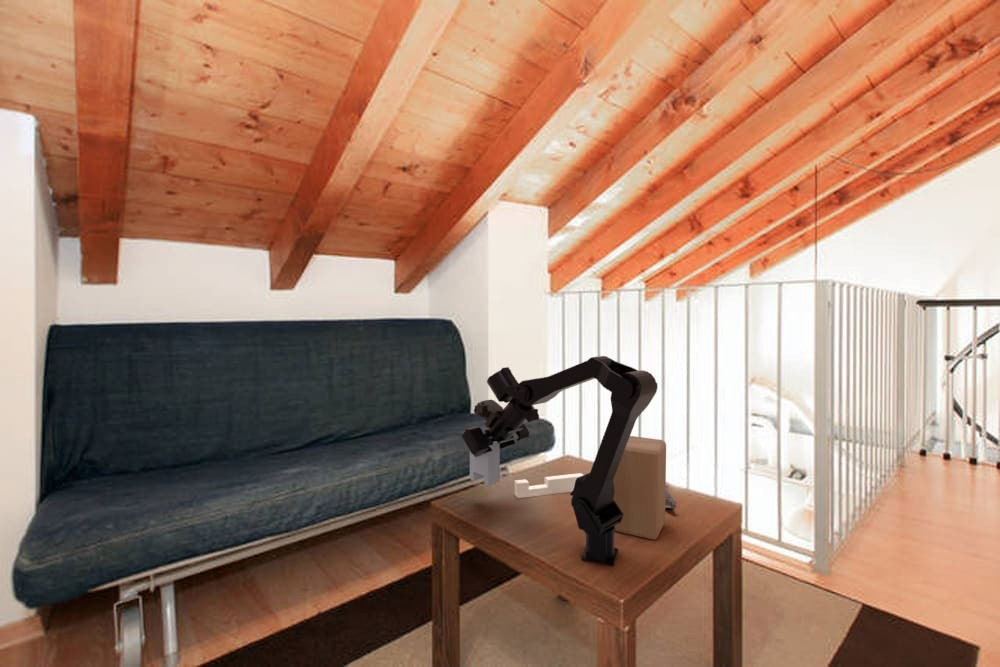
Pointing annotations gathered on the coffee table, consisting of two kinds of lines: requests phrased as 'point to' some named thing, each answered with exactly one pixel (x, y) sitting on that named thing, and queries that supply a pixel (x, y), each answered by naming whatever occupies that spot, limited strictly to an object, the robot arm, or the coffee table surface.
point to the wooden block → (641, 487)
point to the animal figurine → (669, 501)
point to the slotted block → (486, 466)
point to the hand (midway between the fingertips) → (480, 453)
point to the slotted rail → (546, 486)
